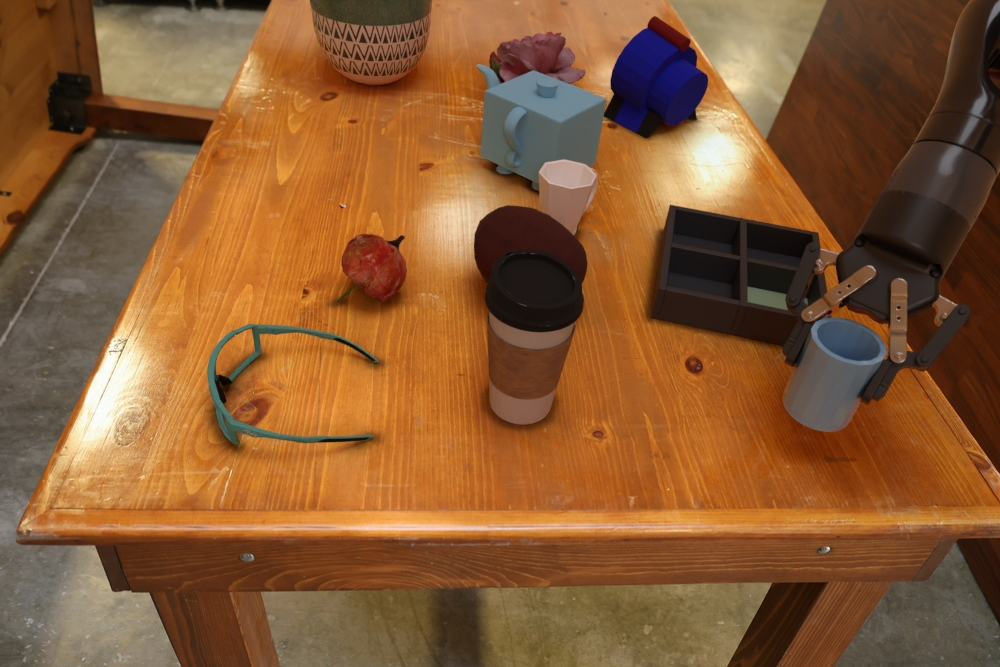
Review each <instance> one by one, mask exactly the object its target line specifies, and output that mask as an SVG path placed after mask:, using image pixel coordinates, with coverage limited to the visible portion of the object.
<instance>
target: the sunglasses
mask: <svg viewBox="0 0 1000 667" xmlns="http://www.w3.org/2000/svg"><path fill="white" fill-rule="evenodd" d="M250 329H251V333H252V338H253V347H254V351H253V352H252V353H251V354H250V355H249V356H248V357H247V358H246V359H245V360H243V362H241V364H239V365H238V366H237V367H236V369H234V371H232V372H231V373H230V375H229V376H228V377H227V376H225V375H223V374H219V373H218V374H217V360H218V356H219V354H220V352H221V350H222V349H223V348H224V346H225V345H226V344H227V343H228V342H229V341H230V340H232V339H233V338H234V337H236V336H237V335H238V336H239V335H240V334H241V333H243V332H246V331H248V330H250ZM285 334H304V335H308V336H313V337H317V338H319V339H323V340H331V341H335V342H337V343H339V344H342V345H345V346H348V347H349V348H351V349H352V350H354V351H356V352H358V353H359V354H361V355H363V356H364V357H365V358H367V359H368V360H369V361H371V362H372V363H374V364H377V363H379V362H380V360H379V359H378V358H376V357H375V356H374V355H373V354H371V353H370V352H368V351H367V350H365V348H363V347H362V346H360V345H359V344H357V343H354V342H353V341H351V340H349V339H347V338H346V337H343V336H340V335H338V334H336V333H333V332H332V333H330V332H326V331H323V330H322V331H321V330H316V329H311V328H304V327H299V326H292V325H280V324H279V325H278V324H255V323H247V324H246V325H243V326H241V327H239V328H236V329H232V330H231V331H229V332H228V333H226V334H225V335H224V336H223V337H222V338H221V339H220V340H219V341H218V342H217V344H215V346H214V347H213V349H212V351H211V353H210V356H209V359H208V362H207V372H206V373H207V375H206V376H207V383H208V390H209V393H210V397H211V400H212V403H213V406H214V408H215V413H216V419H217V423H218V426H219V428H220V430H221V431H222V433H223V435H224V437H225V438H226V439H227V440H228V441H229V442H230V443H231V444H232V445H239V444H240V441H239V438H238V433H240V434H243V435H246V436H249V437H251V438H260V439H261V438H264V439H274V440H280V441H287V442H295V443H300V444H324V443H325V444H326V443H350V442H364V441H369V440H371V439H372V438H374V436H375V435H374V434H359V435H335V436H334V435H312V436H311V435H310V436H300V435H293V434H292V435H291V434H285V433H280V432H275V431H270V430H267V429H264V428H263V429H262V428H259V427H257V426H255V425H252V424H251V425H250V424H249V423H246V422H243V421H239V420H237V419H235V418H234V417H233V415H232V414H231V412H229V410H228V409H227V408H226V407H225V404H226V403H227V397H226V393H225V392H224V389H223V388H222V387H229V386H230V385H231V384H232V383H233V381H234V380H235V379H236V378H237V376H239V374H241V372H242V371H243V370H244V369H245V368H246V367H247V366H248V365H250V364H251V363H252V362H253V361H254V360H255V359H256V358H258V357H259V356H260V355H261V354H262V344H261V335H275V336H277V335H285ZM224 419H225V420H224Z"/></svg>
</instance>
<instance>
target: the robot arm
mask: <svg viewBox="0 0 1000 667" xmlns="http://www.w3.org/2000/svg"><path fill="white" fill-rule="evenodd" d="M991 78H992V79H995V80H997V81H1000V0H969V1H968V2H967V4H966V5H965V6H964V8H963V9H962V11H961V13H960V15H959V16H958V19H957V21H956V24H955V26H954V29H953V33H952V37H951V40H950V45H949V49H948V54H947V60H946V65H945V70H944V74H943V77H942V81H941V85H940V87H939V90H938V94H937V97H936V99H935V102H934V103H933V106H932V108H931V110H930V112H929V114H928V115H927V117H926V119H925V121H924V123H923V125H922V126H921V128H920V130H919V132H918V134H917V135H916V137H915V139H914V140H913V142H912V144H911V146H910V148H909V149H908V150H907V151H906V153H905V154H904V156H903V157H902V158H901V159H900V161H899V162H898V163H897V165H896V166H895V168H894V169H893V171H892V172H891V174H890V176H889V177H888V179H887V181H886V183H885V185H884V186H883V188H882V189H881V191H880V193H879V195H878V197H877V199H876V200H875V202H874V204H873V205H872V207H871V209H870V211H869V212H868V214H867V216H866V218H865V219H864V221H863V223H862V224H861V227H860V228H859V230H858V232H857V234H856V236H855V237H854V239H853V241H852V242H851V243H850V245H849V246H847V247H846V248H845V249H843V250H841V251H840V252H836V251H832V250H828V249H825V248H822V247H821V244H820V245H819V244H818V243H816V242H811V243H809V244H807V246H806V248H805V250H804V253H803V255H802V258H801V260H800V263H799V265H798V268H797V270H796V273H795V275H794V278H793V280H792V283H791V285H790V288H789V290H788V293H787V295H786V298H785V301H786V305H787V309H788V310H789V311H790V312H792V313H793V314H794V315H795V316H796V317H797V319H798V321H797V323H796V325H795V327H794V328H793V330H792V332H791V334H790V335H789V337H788V339H787V341H786V342H785V344H784V345H782V356H783V357H785V359H784V364H785V365H787V366H789V367H790V368H794V367H795V364H796V362H797V360H798V357H799V355H800V353H801V351H802V348H803V346H804V344H805V341H806V339H807V337H808V334H809V332H810V330H811V328H812V326H813V325H814V323H815V322H816V321H819V320H821V319H823V318H827V317H828V316H830V315H831V316H833V315H834V314H836V313H838V312H840V311H841V310H843V309H844V308H845V307H846V310H849V311H850V312H852V313H855V314H860V315H865V316H867V317H868V318H869V319H870V320H872V321H873V322H876V323H878V324H880V325H882V326H884V325H887V357H886V358H884V359H883V361H882V363H881V365H880V367H879V368H878V370H877V371H876V373H875V375H874V377H873V378H872V380H871V382H870V384H869V385H868V387H867V389H866V391H865V392H864V394H863V396H862V398H861V400H860V401H861V402H860V403H863V404H865V405H867V406H870V403H871V401H872V400H873V401H875V402H877V403H878V402H880V401H881V400H882V399H884V397H885V396H886V394H887V392H888V390H889V388H890V387H891V386H892V383H893V382H894V380H895V378H896V376H897V375H898V373H899V372H900V371H902V370H905V369H909V370H916V371H918V372H922V373H923V372H926V371H927V370H929V369H930V368H931V366H932V365H933V364H934V363H935V361H936V360H937V359H938V357H939V356H940V355H941V353H942V352H943V351H944V349H946V347H948V346H947V345H948V344H949V343H950V342H951V340H952V339H953V338H954V337H955V336H956V334H957V333H958V332H959V330H960V329H961V328H962V327H963V325H964V324H965V323H966V321H967V320H968V319H969V317H970V316H971V314H972V309H971V307H970V306H969V305H967V304H966V303H965V304H964V303H959V304H957V303H955V302H953V301H951V300H950V299H948V298H946V297H945V296H943V295H941V282H942V280H943V278H944V277H945V275H946V274H947V272H948V270H949V268H950V266H951V264H952V262H953V261H954V259H955V257H956V256H957V254H958V252H959V251H960V249H961V247H962V245H963V244H964V242H965V240H966V239H967V236H968V234H969V233H970V231H971V229H973V227H974V226H975V225H976V223H977V221H978V217H979V216H980V213H981V212H982V211H983V208H984V206H985V204H986V202H987V200H988V197H989V196H990V193H991V190H992V187H993V185H994V184H995V181H996V179H997V177H998V175H999V173H1000V88H999V87H998V86H997V85H996V84H995V82H993V80H992V79H991ZM820 247H821V248H820ZM830 266H833V267H834V266H835V271H836V272H835V273H836V277H837V278H836V279H837V285H836V286H834V287H832V289H830V290H827V293H826V294H824V295H823V296H822V297H821V298H820V299H819V300H817V301H816V302H814V303H813V304H811V305H810V306H808V305H807V304H806V303H805V302H804V299H805V296H806V294H807V291H808V289H809V286H810V284H811V281H812V279H813V276H814V274H821V273H823V272H824V273H825V271H826V270H827V268H829V267H830ZM930 308H933V309H934V310H935V315H934V318H933V323H934V324H935V326H937V327H938V328H937V330H935V332H934V333H933V335H931V337H930V338H929V340H928V341H927V342H926V343H925V345H924V346H923V348H921V349H920V351H913V350H912V351H911V350H908V348H907V347H908V345H907V344H908V342H907V341H908V337H907V336H908V318H910V317H912V316H915V315H916V314H919V313H921V312H923V311H925V310H928V309H930Z"/></svg>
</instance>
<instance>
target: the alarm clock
mask: <svg viewBox="0 0 1000 667" xmlns="http://www.w3.org/2000/svg"><path fill="white" fill-rule="evenodd" d="M691 43H692V41H691V39H690V38H689V37H688V36H686V35H684V34H683V33H682V32H680V31H679V30H677V29H675V27H672V26H671V25H670V24H668V23H667V22H665V21H664V20H663V19H660V18H659V17H658V16H656V15H654V16H652V17H650V19H649V21H648V22H647V26H646V28H643V29H642V30H640V31H639V32H637V34H635V35H634V36H632V38H631V39H630V40H629V42H628V43H627V44H626V45H625V46H624V47H623V49H622V51H621V52H620V54H619V55H618V57H617V59H616V61H615V64H614V66H613V68H612V71H611V76H610V80H609V81H610V89H611V92H612V93H613V95H612V96H611V98H610V101H609V102H608V104H607V107H606V108H605V112H604V117H605V118H607V119H609V120H610V121H611V122H614V123H616V124H618V125H619V126H622V127H623V128H626V129H627V130H630V131H632V132H634V133H635V134H637V135H639V136H641V137H643V138H645V139H647V138H649V137H650V136H651V135H652V134H654V133H655V132H656V131H657V130H658V129H659V128H660V127H661V126H662V125H664V124H666V125H667V126H671V127H673V126H677V125H679V124H681V123H683V122H684V121H685V120H687V119H688V118H689V119H692V120H695V121H697V120H698V119H697V111H696V110H697V108H698V107H699V106H700V104H701V102H702V100H703V98H704V96H705V95H706V92H707V89H708V86H709V77H708V74H707V73H705V72H704V71H702V70H700V68H697V66H698V55H697V52H696V50H695V49H694V48H692V47H691Z"/></svg>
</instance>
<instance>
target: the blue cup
mask: <svg viewBox="0 0 1000 667" xmlns="http://www.w3.org/2000/svg"><path fill="white" fill-rule="evenodd" d="M887 354H888V350H887V347H886V343H885V342H884V340H883V339H882V338H881V336H880V334H878V333H877V332H876V331H874V330H873V329H871V328H870V327H868V326H867V325H866V324H863V323H860V322H858V321H855V320H853V319H849V318H844V317H839V316H838V317H837V316H835V317H834V316H833V317H832V316H831V318H823V319H821V320H819V321H816V322H815V323H814V325H813V326H812V328H811V330H810V332H809V334H808V337H807V339H806V341H805V344H804V346H803V348H802V351H801V353H800V355H799V357H798V360H797V362H796V364H795V366H794V367H793V369H792V372H791V373H790V376H789V378H788V381H787V383H786V385H785V388H784V390H783V393H782V398H781V399H782V405H783V407H784V409H785V411H786V412H787V413H788V415H789V416H790V417H791V418H792V419H794V420H795V421H796V422H798V423H799V424H800V425H802V426H804V427H806V428H808V429H812V430H813V431H818V432H824V433H834V432H839V431H842V430H844V429H846V428H847V427H848V426H849V424H850V423H851V421H852V419H853V417H854V415H855V414H856V412H857V410H858V408H859V406H860V405H861V403H862V402H861V401H860V400H861V398H862V396H863V394H864V392H865V391H866V389H867V387H868V385H869V384H870V382H871V380H872V378H873V377H874V375H875V373H876V371H877V370H878V368H879V367H880V365H881V363H882V361H883V359H884V360H885V357H886V355H887Z"/></svg>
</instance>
